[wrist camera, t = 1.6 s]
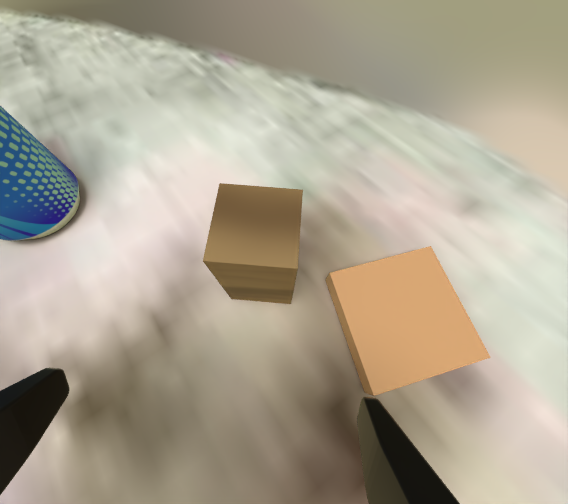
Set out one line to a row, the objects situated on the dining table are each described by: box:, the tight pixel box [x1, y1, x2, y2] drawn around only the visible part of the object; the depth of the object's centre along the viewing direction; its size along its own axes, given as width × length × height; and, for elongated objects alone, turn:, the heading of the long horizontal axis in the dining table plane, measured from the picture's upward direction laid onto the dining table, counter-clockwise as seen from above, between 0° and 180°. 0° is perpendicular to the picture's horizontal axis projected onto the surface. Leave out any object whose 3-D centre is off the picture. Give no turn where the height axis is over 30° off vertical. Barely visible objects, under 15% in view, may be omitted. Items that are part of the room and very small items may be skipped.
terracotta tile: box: [326, 246, 490, 396], centre depth 21 cm, size 9×9×2 cm
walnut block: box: [203, 183, 303, 304], centre depth 19 cm, size 5×5×9 cm
